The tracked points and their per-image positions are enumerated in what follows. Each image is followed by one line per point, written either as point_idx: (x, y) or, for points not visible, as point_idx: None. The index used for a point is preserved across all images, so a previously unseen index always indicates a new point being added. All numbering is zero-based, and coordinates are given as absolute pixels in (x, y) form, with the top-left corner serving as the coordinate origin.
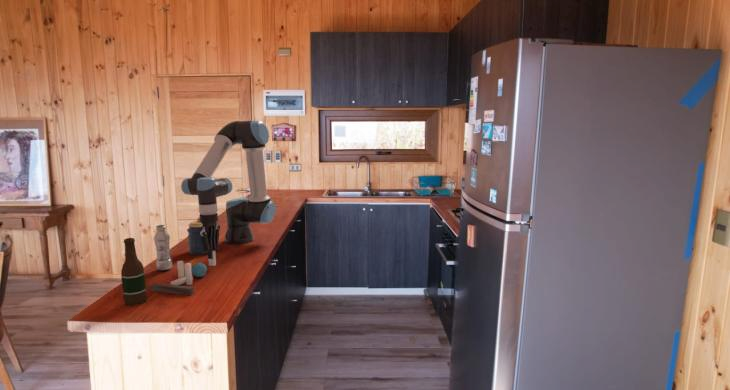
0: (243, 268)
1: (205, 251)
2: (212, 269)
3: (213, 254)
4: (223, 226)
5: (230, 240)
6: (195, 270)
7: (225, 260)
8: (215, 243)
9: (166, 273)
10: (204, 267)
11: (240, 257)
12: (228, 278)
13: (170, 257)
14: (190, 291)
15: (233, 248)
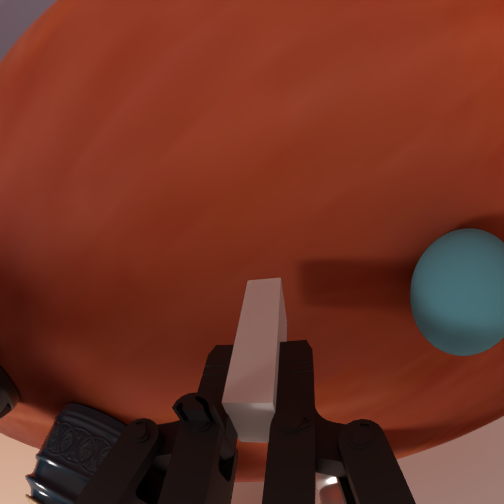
0: (142, 43)
1: (111, 428)
2: None
3: (272, 368)
4: (5, 424)
5: (3, 388)
6: None
7: (94, 308)
8: (169, 491)
9: (394, 421)
10: (492, 255)
11: (20, 257)
12: (417, 5)
13: (337, 487)
14: None
15: (11, 353)
